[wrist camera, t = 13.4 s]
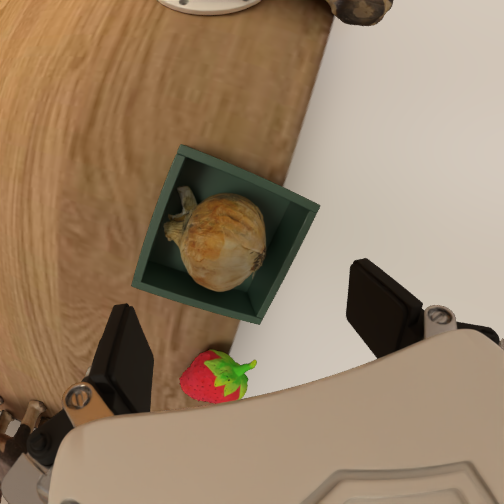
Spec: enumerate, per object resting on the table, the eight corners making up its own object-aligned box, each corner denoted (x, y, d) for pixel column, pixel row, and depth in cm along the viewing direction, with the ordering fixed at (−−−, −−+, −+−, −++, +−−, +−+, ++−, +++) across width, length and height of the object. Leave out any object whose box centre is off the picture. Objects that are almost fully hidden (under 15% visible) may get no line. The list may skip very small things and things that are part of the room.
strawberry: (206, 426, 27) (279, 394, 26) (161, 397, 24) (241, 358, 23) (204, 391, 32) (269, 359, 31) (166, 360, 30) (235, 321, 29)
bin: (183, 145, 22) (180, 143, 17) (298, 194, 25) (320, 205, 21) (141, 262, 24) (130, 286, 20) (248, 297, 28) (259, 325, 24)
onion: (268, 237, 26) (189, 245, 27) (258, 166, 21) (162, 180, 21) (271, 306, 21) (176, 311, 22) (260, 235, 16) (134, 247, 16)
